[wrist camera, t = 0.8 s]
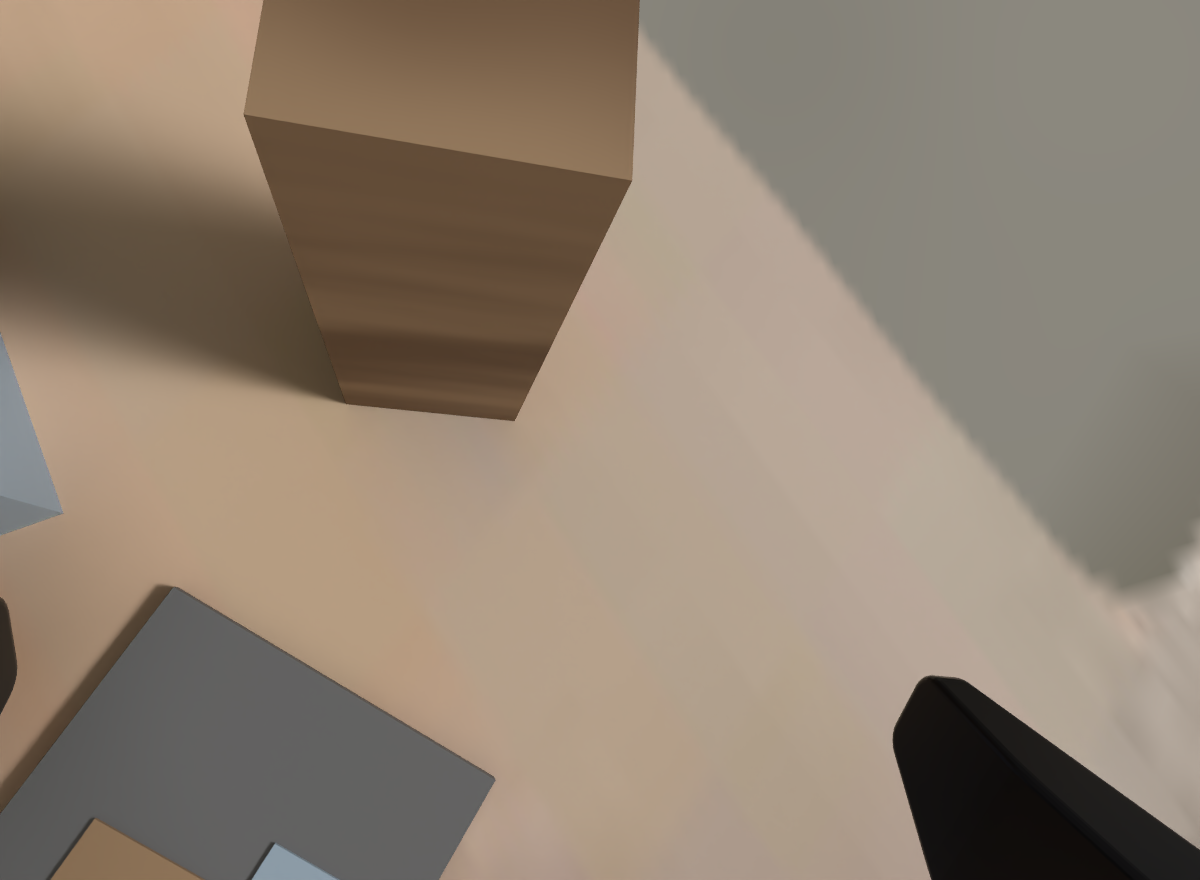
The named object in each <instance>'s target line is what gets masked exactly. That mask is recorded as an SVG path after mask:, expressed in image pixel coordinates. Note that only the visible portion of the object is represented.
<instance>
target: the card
mask: <svg viewBox="0 0 1200 880" xmlns="http://www.w3.org/2000/svg"><path fill="white" fill-rule="evenodd" d="M494 782H495V778H494V776H492V775H490V774H489V773H487V772H485V771H484V770H482V769H480V768H479V767H477V766H475V765H474V764H472V763H470V762H469V761H467V760H465V759H464V758H462V757H460V756H459V755H457V754H455V753H454V752H452V751H450V750H449V749H447V748H445V747H444V746H442V745H440V744H439V743H437V742H435V741H434V740H432V739H430V738H428V737H427V736H425V735H423V734H422V733H420V732H418V731H417V730H415V729H413V728H412V727H410V726H408V725H407V724H405V723H403V722H402V721H400V720H398V719H397V718H395V717H393V716H392V715H390V714H388V713H387V712H385V711H383V710H382V709H380V708H378V707H377V706H375V705H373V704H372V703H370V702H368V701H367V700H365V699H363V698H362V697H360V696H358V695H357V694H355V693H353V692H352V691H350V690H348V689H347V688H345V687H343V686H342V685H340V684H338V683H337V682H335V681H333V680H332V679H330V678H328V677H327V676H325V675H323V674H322V673H320V672H318V671H317V670H315V669H313V668H312V667H310V666H308V665H307V664H305V663H303V662H302V661H300V660H298V659H297V658H295V657H293V656H292V655H290V654H288V653H287V652H285V651H283V650H282V649H280V648H278V647H277V646H275V645H273V644H272V643H270V642H268V641H267V640H265V639H263V638H262V637H260V636H258V635H257V634H255V633H253V632H252V631H250V630H248V629H247V628H245V627H243V626H242V625H240V624H238V623H237V622H235V621H233V620H232V619H230V618H228V617H227V616H225V615H223V614H222V613H220V612H218V611H217V610H215V609H213V608H212V607H210V606H208V605H207V604H205V603H203V602H202V601H200V600H198V599H197V598H195V597H193V596H192V595H190V594H188V593H187V592H185V591H183V590H182V589H180V588H178V587H173V588H172V590H171V591H170V592H169V594H168V595H167V596H166V597H165V599H164V600H163V601H162V603H161V604H160V605H159V607H158V608H157V609H156V611H155V612H154V613H153V615H152V616H151V617H150V618H149V620H148V621H147V622H146V624H145V625H144V626H143V628H142V629H141V630H140V632H139V633H138V634H137V635H136V637H135V638H134V639H133V641H132V642H131V643H130V645H129V646H128V647H127V649H126V650H125V651H124V653H123V654H122V655H121V656H120V658H119V659H118V660H117V662H116V663H115V664H114V666H113V667H112V668H111V670H110V671H109V672H108V673H107V675H106V676H105V677H104V679H103V680H102V681H101V683H100V684H99V685H98V687H97V688H96V689H95V691H94V692H93V693H92V694H91V696H90V697H89V698H88V700H87V701H86V702H85V704H84V705H83V706H82V708H81V709H80V710H79V711H78V713H77V714H76V715H75V717H74V718H73V719H72V721H71V722H70V723H69V725H68V726H67V727H66V729H65V730H64V731H63V732H62V734H61V735H60V736H59V738H58V739H57V740H56V742H55V743H54V744H53V746H52V747H51V748H50V749H49V751H48V752H47V753H46V755H45V756H44V757H43V759H42V760H41V761H40V763H39V764H38V765H37V767H36V768H35V769H34V770H33V772H32V773H31V774H30V776H29V777H28V778H27V780H26V781H25V782H24V784H23V785H22V786H21V787H20V789H19V790H18V791H17V793H16V794H15V795H14V797H13V798H12V799H11V801H10V802H9V803H8V805H7V806H6V807H5V808H4V810H3V811H2V812H1V814H0V880H439V878H440V876H441V875H442V873H443V871H444V869H445V868H446V866H447V864H448V862H449V861H450V859H451V857H452V855H453V854H454V852H455V850H456V848H457V847H458V845H459V843H460V841H461V840H462V838H463V836H464V834H465V833H466V831H467V829H468V827H469V826H470V824H471V822H472V820H473V819H474V817H475V815H476V813H477V812H478V810H479V808H480V806H481V805H482V803H483V801H484V799H485V797H486V796H487V794H488V792H489V790H490V789H491V787H492V785H493V783H494Z"/></svg>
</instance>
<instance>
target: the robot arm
mask: <svg viewBox="0 0 1200 880" xmlns="http://www.w3.org/2000/svg"><path fill="white" fill-rule="evenodd" d="M16 675H17V659H16V653H15V647H14V640H13V634H12V628H11V622H10V615H9V610H8V607H7V604H6V602H5V601H4V599H2V598H1V597H0V714H1V712H2V710H3V708H4V706H5V704H6V702H7V700H8V698H9V696H10V694H11V692H12V690H13V687H14V684H15V680H16ZM893 749H894V753H895V757H896V760H897V764H898V767H899V771H900V774H901V778H902V781H903V784H904V788H905V791H906V795H907V798H908V802H909V805H910V809H911V812H912V816H913V819H914V823H915V826H916V830H917V833H918V836H919V840H920V843H921V847H922V850H923V854H924V857H925V861H926V864H927V867H928V871H929V874H930V877H931V880H1200V850H1199V849H1198V848H1196V847H1195V846H1194V845H1192V844H1191V843H1189V842H1188V841H1187V840H1185V839H1184V838H1183V837H1181V836H1180V835H1178V834H1177V833H1176V832H1174V831H1173V830H1171V829H1170V828H1169V827H1167V826H1166V825H1165V824H1163V823H1162V822H1160V821H1159V820H1158V819H1156V818H1155V817H1153V816H1152V815H1151V814H1149V813H1148V812H1147V811H1145V810H1144V809H1142V808H1141V807H1140V806H1138V805H1137V804H1135V803H1134V802H1133V801H1131V800H1130V799H1129V798H1127V797H1126V796H1124V795H1123V794H1122V793H1120V792H1119V791H1117V790H1116V789H1115V788H1113V787H1112V786H1111V785H1109V784H1108V783H1106V782H1105V781H1104V780H1102V779H1101V778H1099V777H1098V776H1097V775H1095V774H1094V773H1093V772H1091V771H1090V770H1088V769H1087V768H1086V767H1084V766H1083V765H1081V764H1080V763H1079V762H1077V761H1076V760H1075V759H1073V758H1072V757H1070V756H1069V755H1068V754H1066V753H1065V752H1063V751H1062V750H1061V749H1059V748H1058V747H1057V746H1055V745H1054V744H1052V743H1051V742H1050V741H1048V740H1047V739H1045V738H1044V737H1043V736H1041V735H1040V734H1038V733H1037V732H1036V731H1034V730H1033V729H1032V728H1030V727H1029V726H1027V725H1026V724H1025V723H1023V722H1022V721H1020V720H1019V719H1018V718H1016V717H1015V716H1014V715H1012V714H1011V713H1009V712H1008V711H1007V710H1005V709H1004V708H1002V707H1001V706H1000V705H998V704H997V703H996V702H994V701H993V700H991V699H990V698H989V697H987V696H986V695H984V694H983V693H982V692H980V691H979V690H978V689H976V688H975V687H973V686H972V685H971V684H969V683H968V682H966V681H965V680H962V679H960V678H955V677H944V676H926V677H924V678H923V679H921V680H920V681H919V682H918V684H917V685H916V687H915V689H914V691H913V693H912V694H911V696H910V698H909V700H908V702H907V704H906V706H905V708H904V710H903V711H902V713H901V715H900V717H899V719H898V721H897V723H896V725H895V727H894V732H893Z"/></svg>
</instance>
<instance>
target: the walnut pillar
mask: <svg viewBox="0 0 1200 880" xmlns="http://www.w3.org/2000/svg"><path fill="white" fill-rule="evenodd" d="M639 2H640V0H264V1H263V6H262V12H261V18H260V24H259V29H258V35H257V41H256V46H255V52H254V58H253V64H252V69H251V75H250V81H249V86H248V92H247V98H246V104H245V109H244V117H245V120H246V122H247V125H248V128H249V131H250V134H251V137H252V139H253V142H254V145H255V148H256V151H257V154H258V156H259V159H260V162H261V165H262V168H263V171H264V173H265V176H266V179H267V182H268V185H269V188H270V190H271V193H272V196H273V199H274V202H275V205H276V207H277V210H278V213H279V216H280V219H281V222H282V224H283V227H284V230H285V233H286V236H287V238H288V241H289V244H290V247H291V250H292V253H293V255H294V258H295V261H296V264H297V267H298V270H299V272H300V275H301V278H302V281H303V284H304V287H305V289H306V292H307V295H308V298H309V301H310V304H311V306H312V309H313V312H314V315H315V318H316V321H317V323H318V326H319V329H320V332H321V335H322V338H323V340H324V343H325V346H326V349H327V352H328V355H329V357H330V360H331V363H332V366H333V369H334V372H335V374H336V377H337V380H338V383H339V386H340V389H341V391H342V394H343V397H344V400H345V403H346V404H352V405H362V406H372V407H381V408H391V409H401V410H411V411H421V412H431V413H441V414H451V415H461V416H471V417H481V418H490V419H500V420H510V421H515V419H516V417H517V415H518V413H519V411H520V409H521V407H522V405H523V403H524V401H525V399H526V396H527V394H528V392H529V390H530V388H531V386H532V384H533V382H534V380H535V378H536V376H537V374H538V372H539V370H540V368H541V366H542V364H543V362H544V360H545V358H546V356H547V354H548V352H549V349H550V347H551V345H552V343H553V341H554V339H555V337H556V335H557V333H558V331H559V329H560V327H561V325H562V323H563V321H564V319H565V317H566V315H567V313H568V311H569V309H570V307H571V304H572V302H573V300H574V298H575V296H576V294H577V292H578V290H579V288H580V286H581V284H582V282H583V280H584V278H585V276H586V274H587V272H588V270H589V268H590V266H591V264H592V262H593V259H594V257H595V255H596V253H597V251H598V249H599V247H600V245H601V243H602V241H603V239H604V237H605V235H606V233H607V231H608V229H609V227H610V225H611V223H612V221H613V219H614V217H615V215H616V212H617V210H618V208H619V206H620V204H621V202H622V200H623V198H624V196H625V194H626V192H627V190H628V188H629V186H630V184H631V182H632V171H633V147H634V123H635V99H636V74H637V50H638V26H639Z"/></svg>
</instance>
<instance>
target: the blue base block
mask: <svg viewBox="0 0 1200 880" xmlns="http://www.w3.org/2000/svg"><path fill="white" fill-rule="evenodd" d="M60 514H63V511H62V508H61V505H60V502H59V499H58V496H57V493H56V490H55V488H54V485H53V482H52V479H51V476H50V473H49V470H48V468H47V465H46V462H45V459H44V456H43V453H42V450H41V447H40V445H39V442H38V439H37V436H36V433H35V430H34V427H33V425H32V422H31V419H30V416H29V413H28V410H27V407H26V404H25V402H24V399H23V396H22V393H21V390H20V387H19V384H18V382H17V379H16V376H15V373H14V370H13V367H12V364H11V361H10V359H9V356H8V353H7V350H6V347H5V344H4V341H3V339H2V336H1V333H0V535H3V534H6V533H9V532H12V531H14V530H17V529H20V528H23V527H26V526H29V525H32V524H34V523H37V522H40V521H43V520H46V519H49V518H51V517H54V516H57V515H60Z"/></svg>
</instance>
